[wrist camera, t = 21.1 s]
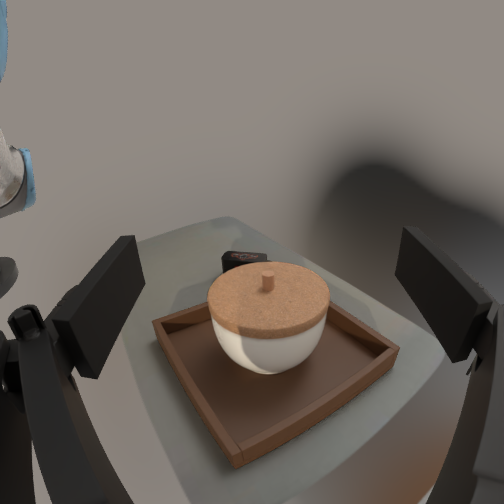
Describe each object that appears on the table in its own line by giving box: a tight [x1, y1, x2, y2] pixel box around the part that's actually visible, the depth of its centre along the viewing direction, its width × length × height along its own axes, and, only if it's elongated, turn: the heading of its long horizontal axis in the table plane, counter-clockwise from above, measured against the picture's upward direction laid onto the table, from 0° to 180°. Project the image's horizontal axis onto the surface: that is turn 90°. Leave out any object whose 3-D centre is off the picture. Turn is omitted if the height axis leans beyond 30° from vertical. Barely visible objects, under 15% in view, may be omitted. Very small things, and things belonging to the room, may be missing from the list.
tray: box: [152, 301, 400, 469], centre depth 30 cm, size 19×19×3 cm
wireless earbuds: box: [221, 251, 272, 274], centre depth 46 cm, size 5×7×3 cm, turn 76°
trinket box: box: [207, 262, 330, 374], centre depth 28 cm, size 11×11×9 cm
